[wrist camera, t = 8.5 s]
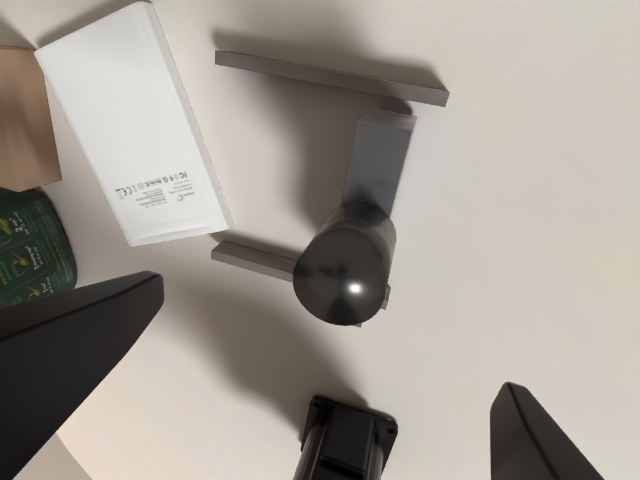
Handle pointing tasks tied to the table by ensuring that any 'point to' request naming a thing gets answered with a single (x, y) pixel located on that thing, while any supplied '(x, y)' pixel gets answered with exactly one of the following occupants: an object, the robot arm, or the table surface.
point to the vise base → (31, 99)
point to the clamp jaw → (358, 227)
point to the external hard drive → (136, 126)
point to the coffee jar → (31, 249)
